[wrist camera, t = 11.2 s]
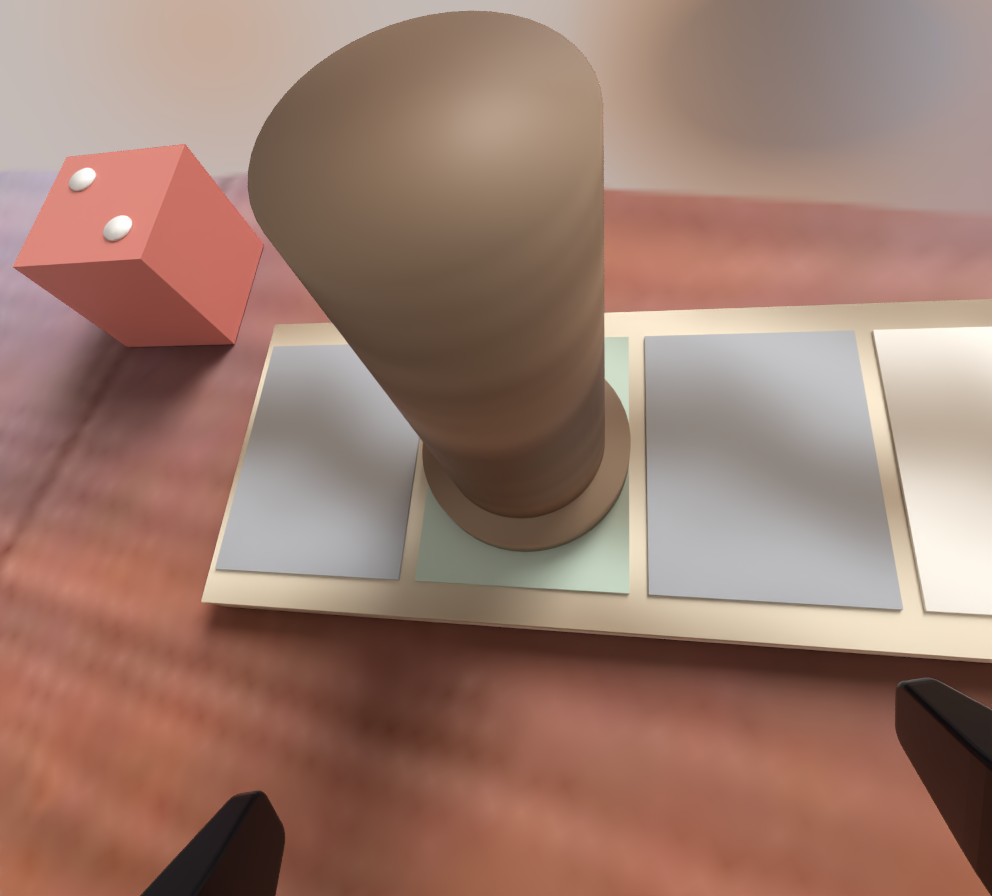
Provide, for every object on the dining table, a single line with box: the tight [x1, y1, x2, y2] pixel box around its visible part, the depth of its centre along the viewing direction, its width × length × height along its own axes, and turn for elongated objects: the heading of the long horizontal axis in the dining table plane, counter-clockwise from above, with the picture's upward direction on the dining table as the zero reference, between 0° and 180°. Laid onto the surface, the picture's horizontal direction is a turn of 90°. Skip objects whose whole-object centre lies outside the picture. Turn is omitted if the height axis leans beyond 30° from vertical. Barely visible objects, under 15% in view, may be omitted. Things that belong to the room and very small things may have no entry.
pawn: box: [248, 11, 631, 552], centre depth 12 cm, size 6×6×11 cm
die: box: [13, 144, 264, 347], centre depth 22 cm, size 5×5×5 cm
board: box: [201, 299, 992, 663], centre depth 17 cm, size 10×26×1 cm, turn 85°
